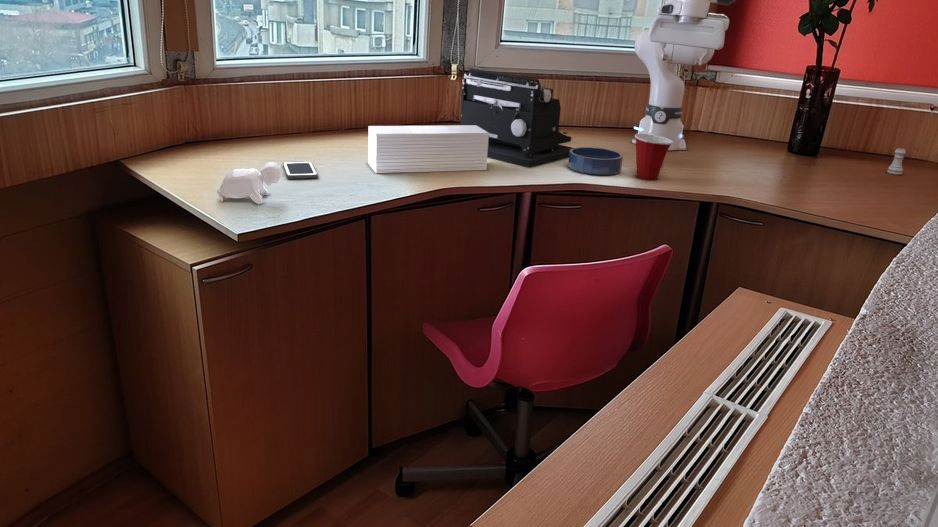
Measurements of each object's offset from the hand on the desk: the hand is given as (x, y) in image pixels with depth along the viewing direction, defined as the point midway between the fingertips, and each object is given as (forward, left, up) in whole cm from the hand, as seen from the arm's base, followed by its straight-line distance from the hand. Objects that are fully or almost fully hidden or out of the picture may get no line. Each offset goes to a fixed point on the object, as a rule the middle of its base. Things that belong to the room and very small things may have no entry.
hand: (680, 63), depth 199 cm
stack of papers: (+33, -60, -32) cm, 76 cm away
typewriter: (-1, -47, -32) cm, 57 cm away
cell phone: (+60, -85, -32) cm, 109 cm away
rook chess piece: (-52, +65, -32) cm, 89 cm away
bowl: (+6, -19, -32) cm, 38 cm away
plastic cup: (+6, -3, -32) cm, 33 cm away
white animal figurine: (+86, -79, -32) cm, 121 cm away
